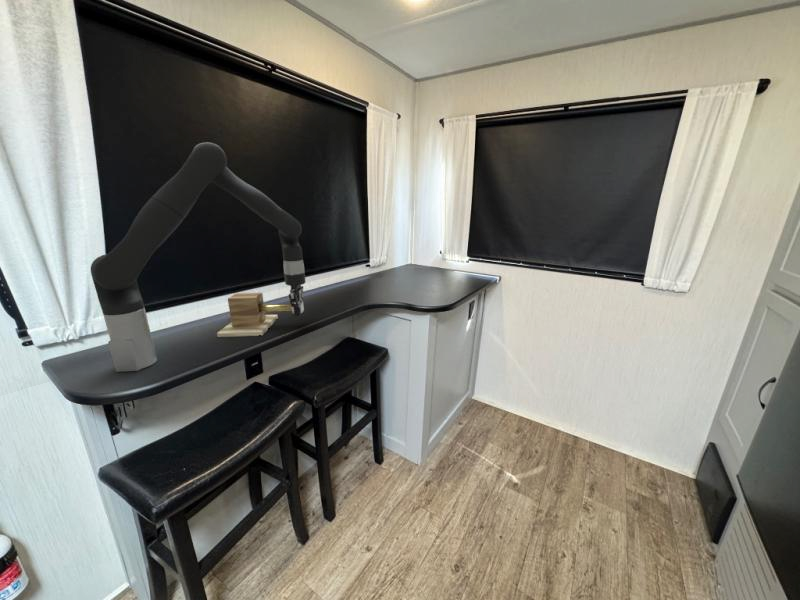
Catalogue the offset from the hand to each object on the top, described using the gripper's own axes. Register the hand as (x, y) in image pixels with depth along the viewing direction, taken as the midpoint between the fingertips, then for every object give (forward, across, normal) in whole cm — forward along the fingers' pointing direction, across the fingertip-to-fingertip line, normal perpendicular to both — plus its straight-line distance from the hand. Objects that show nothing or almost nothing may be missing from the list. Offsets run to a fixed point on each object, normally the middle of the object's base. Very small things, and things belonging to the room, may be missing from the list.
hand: (298, 314), depth 127 cm
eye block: (+5, 0, -19) cm, 20 cm away
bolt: (-1, 0, -10) cm, 10 cm away
